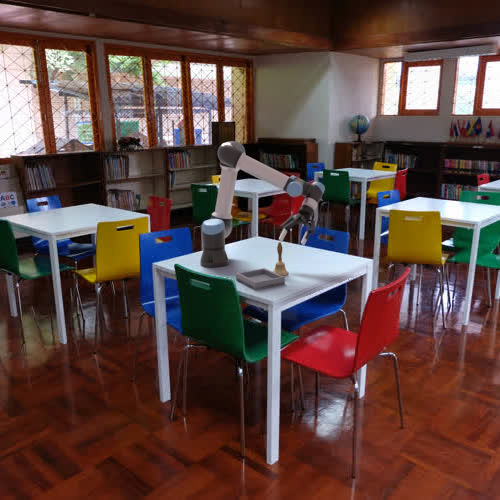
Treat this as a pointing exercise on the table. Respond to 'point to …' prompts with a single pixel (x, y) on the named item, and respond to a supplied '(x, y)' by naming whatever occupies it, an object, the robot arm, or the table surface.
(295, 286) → the table surface
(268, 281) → the tray
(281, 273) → the hand bell
